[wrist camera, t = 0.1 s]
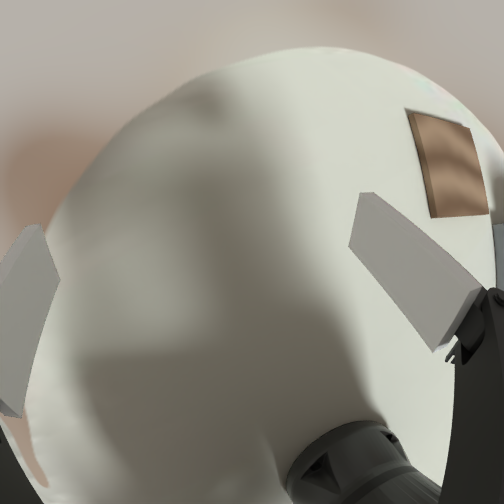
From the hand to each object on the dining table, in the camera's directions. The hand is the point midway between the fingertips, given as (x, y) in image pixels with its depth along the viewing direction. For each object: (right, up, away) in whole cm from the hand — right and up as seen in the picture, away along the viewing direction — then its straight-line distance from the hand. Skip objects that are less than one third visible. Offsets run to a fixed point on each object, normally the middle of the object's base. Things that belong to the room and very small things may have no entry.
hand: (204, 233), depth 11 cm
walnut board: (+30, +11, +22) cm, 39 cm away
